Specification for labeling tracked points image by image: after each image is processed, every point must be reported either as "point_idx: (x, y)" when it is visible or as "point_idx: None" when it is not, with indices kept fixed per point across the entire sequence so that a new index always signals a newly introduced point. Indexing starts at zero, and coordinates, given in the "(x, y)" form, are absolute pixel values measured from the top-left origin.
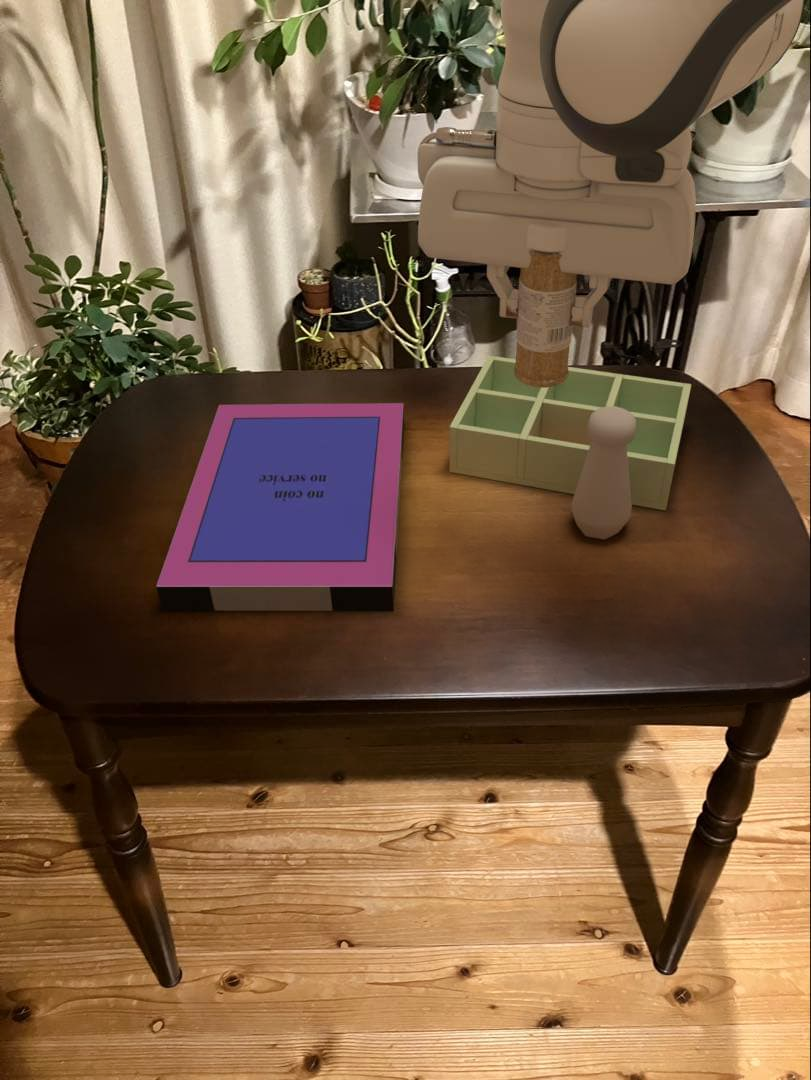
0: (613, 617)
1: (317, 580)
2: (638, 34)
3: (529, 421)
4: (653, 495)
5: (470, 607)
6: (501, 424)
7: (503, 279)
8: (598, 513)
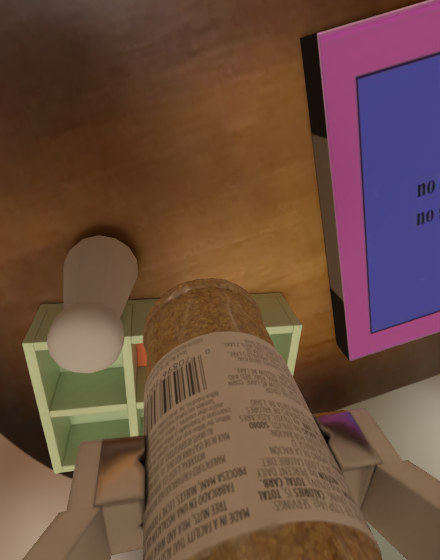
0: (37, 103)
1: (411, 19)
2: None
3: None
4: (53, 313)
5: (211, 72)
6: None
7: (425, 536)
8: (95, 245)
